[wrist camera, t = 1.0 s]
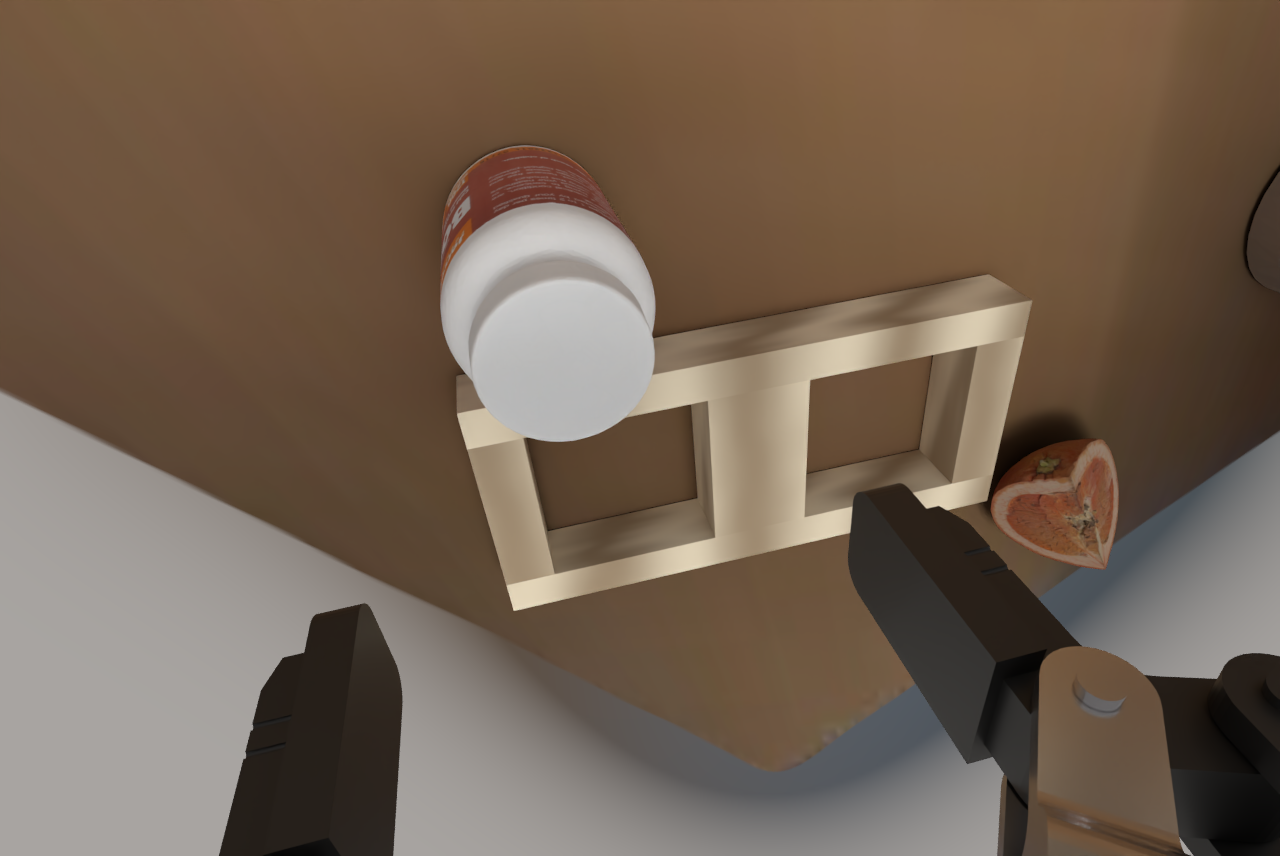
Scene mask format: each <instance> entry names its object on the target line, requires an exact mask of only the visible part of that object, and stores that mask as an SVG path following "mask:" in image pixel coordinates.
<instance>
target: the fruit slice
mask: <svg viewBox="0 0 1280 856" xmlns="http://www.w3.org/2000/svg"><path fill="white" fill-rule="evenodd" d="M1118 506H1119V489H1118V478H1117V471H1116V467H1115V463H1114V460H1113V457H1112V454H1111V451H1110V449H1109V447H1108V446H1107V444H1106V443H1105V441H1103V440H1101V439H1079V440H1069V441H1064V442H1059V443H1055V444H1052V445H1049V446H1046V447H1044V448H1041V449H1039V450H1036V451H1034V452H1032V453H1031V454H1029V455H1028V456H1026V457H1024V458H1023V459H1021V460H1020V461H1019V462H1018V463H1016V464H1015V465H1014V466H1012V467H1011V468H1010V469H1009V470H1008V471H1007V472H1006V473H1005V475H1004V476H1003V477H1002V478H1001V479H1000V481H999V483H998V485H997V486H996V488H995V491H994V493H993V497H992V502H991V513H992V517H993V520H994V522H995V523H996V525H997V526H998V528H999V529H1000V530H1001V531H1002V532H1003V533H1004V534H1006V535H1007V536H1008V537H1010V538H1011V539H1012V540H1014V541H1015V542H1017V543H1019V544H1020V545H1022V546H1024V547H1025V548H1027V549H1029V550H1030V551H1032V552H1035V553H1037V554H1039V555H1042V556H1044V557H1047V558H1050V559H1053V560H1056V561H1061V562H1064V563H1068V564H1072V565H1076V566H1080V567H1086V568H1095V569H1106V566H1107V563H1108V559H1109V555H1110V551H1111V548H1112V545H1113V539H1114V536H1115V531H1116V525H1117V518H1118Z"/></svg>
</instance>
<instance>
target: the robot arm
mask: <svg viewBox="0 0 1280 856" xmlns="http://www.w3.org/2000/svg"><path fill="white" fill-rule="evenodd" d="M1247 258H1248V265H1249V269H1250V271H1251V272H1252V274H1253V276H1254V278H1255V279H1256V280H1257V281H1258V282H1259V283H1260V284H1262V285H1263V286H1264V287H1266V288H1269V289H1271V290H1274V291H1276V292H1278V293H1280V172H1279V173H1278V174H1277V176H1276V177H1275V179H1274V180H1273V182H1272V184H1271V185H1270V187H1269V188H1268V190H1267V191H1266V193H1265V195H1264V197H1263V199H1262V201H1261V203H1260V205H1259V207H1258V209H1257V211H1256V213H1255V216H1254V219H1253V222H1252V225H1251V229H1250V232H1249V235H1248V245H1247ZM848 565H849V570H850V575H851V578H852V581H853V584H854V586H855V588H856V590H857V592H858V594H859V596H860V597H861V599H862V600H863V602H864V603H865V605H866V607H867V608H868V610H869V611H870V613H871V614H872V616H873V618H874V619H875V621H876V622H877V624H878V625H879V627H880V628H881V630H882V632H883V633H884V635H885V636H886V638H887V639H888V641H889V643H890V644H891V646H892V647H893V649H894V650H895V652H896V653H897V655H898V657H899V658H900V660H901V661H902V663H903V664H904V666H905V668H906V669H907V671H908V672H909V674H910V675H911V677H912V678H913V680H914V682H915V683H916V685H917V686H918V688H919V689H920V691H921V693H922V694H923V696H924V697H925V699H926V700H927V702H928V703H929V705H930V707H931V708H932V710H933V711H934V713H935V714H936V716H937V717H938V719H939V720H940V722H941V724H942V725H943V727H944V728H945V730H946V732H947V733H948V735H949V736H950V738H951V739H952V741H953V742H954V744H955V746H956V747H957V749H958V750H959V752H960V753H961V755H962V756H963V758H964V759H965V761H966V763H967V764H969V763H973V762H976V761H979V760H983V759H987V758H990V757H993V758H994V759H995V761H996V762H997V764H998V765H999V766H1000V768H1001V770H1002V771H1003V772H1004V775H1003V778H1002V784H1001V798H1000V815H999V833H998V851H997V856H1190V855H1187V854H1185V853H1184V851H1183V849H1182V847H1181V843H1180V839H1179V837H1180V838H1181V840H1182V841H1183V842H1184V843H1185V845H1186V846H1187V847H1188V849H1189V850H1190V851H1191V853H1192V854H1193V855H1194V856H1280V657H1279V656H1275V655H1270V654H1261V653H1251V654H1243V655H1240V656H1237V657H1234V658H1233V659H1231V660H1229V661H1228V662H1227V664H1226V665H1225V666H1224V668H1223V670H1222V671H1221V673H1220V675H1219V677H1218V678H1217V679H1205V678H1180V677H1160V676H1148V675H1143V674H1142V673H1141V672H1140V671H1139V670H1138V669H1137V668H1135V667H1134V666H1133V665H1131V664H1129V663H1128V662H1127V661H1125V660H1123V659H1121V658H1119V657H1118V656H1115V655H1113V654H1111V653H1108V652H1106V651H1102V650H1099V649H1095V648H1090V647H1082V646H1081V645H1080V644H1079V643H1078V642H1077V641H1076V640H1075V639H1074V638H1073V637H1072V636H1071V635H1070V634H1069V632H1068V631H1067V630H1066V629H1065V628H1064V627H1063V626H1062V625H1061V624H1060V622H1059V621H1058V620H1057V619H1056V618H1055V617H1054V616H1053V615H1052V614H1051V613H1050V612H1049V611H1048V609H1047V608H1046V607H1045V606H1044V605H1043V604H1042V603H1041V602H1040V601H1039V599H1038V598H1037V597H1036V596H1035V595H1034V594H1033V593H1032V592H1031V591H1030V590H1029V589H1028V587H1027V586H1026V585H1025V584H1024V583H1023V582H1022V581H1021V580H1020V579H1019V578H1018V576H1017V575H1016V574H1015V573H1014V572H1013V571H1012V570H1008V568H1007V564H1006V563H1005V562H1004V561H1003V560H1002V559H1001V558H1000V557H999V556H998V555H997V554H996V552H995V551H991V550H990V546H989V545H988V544H987V543H986V541H985V540H984V539H983V538H982V537H981V536H980V535H979V534H978V533H977V532H976V531H975V529H974V528H973V527H972V526H971V525H970V524H969V523H968V522H966V521H964V520H963V519H961V518H959V517H957V516H956V515H954V514H952V513H951V512H949V511H947V510H945V509H944V508H942V507H940V506H936V507H932V508H927V509H926V508H925V506H924V505H923V504H922V503H921V502H920V501H919V500H918V498H917V497H916V496H915V495H914V494H913V493H912V491H911V490H910V489H909V488H908V487H907V486H906V485H904V484H902V483H896V484H892V485H888V486H883V487H879V488H875V489H870V490H866V491H861V492H858V493H856V495H855V496H854V499H853V507H852V518H851V529H850V540H849V551H848ZM401 719H402V688H401V681H400V676H399V672H398V668H397V665H396V663H395V661H394V658H393V656H392V654H391V652H390V650H389V647H388V645H387V643H386V641H385V639H384V636H383V634H382V632H381V630H380V628H379V626H378V623H377V621H376V619H375V617H374V615H373V612H372V610H371V609H370V607H369V606H368V605H367V604H360V605H355V606H351V607H347V608H342V609H338V610H333V611H329V612H325V613H320V614H316V615H315V616H314V617H313V618H312V620H311V624H310V628H309V633H308V638H307V642H306V647H305V652H304V653H301V654H297V655H293V656H289V657H284V658H282V660H281V661H280V663H279V665H278V666H277V667H276V669H275V670H274V672H273V673H272V675H271V676H270V678H269V679H268V681H267V682H266V684H265V685H264V687H263V688H262V690H261V693H260V697H259V701H258V704H257V708H256V712H255V716H254V720H253V730H252V731H251V732H250V736H249V740H248V744H247V748H246V751H245V752H246V759H244V760H243V763H242V767H241V771H240V775H239V779H238V783H237V787H236V791H235V795H234V799H233V803H232V806H231V810H230V815H229V819H228V823H227V826H226V830H225V835H224V838H223V842H222V846H221V850H220V854H219V856H393V850H394V833H395V817H396V800H397V784H398V768H399V751H400V736H401Z"/></svg>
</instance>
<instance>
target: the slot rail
mask: <svg viewBox="0 0 1280 856" xmlns="http://www.w3.org/2000/svg"><path fill="white" fill-rule="evenodd" d="M1031 304H1032V300H1031V299H1030V298H1028V297H1026V296H1025V295H1023V294H1021V293H1020V292H1018V291H1016V290H1015V289H1013V288H1011V287H1010V286H1008V285H1006V284H1004V283H1003V282H1001V281H999V280H998V279H996V278H994V277H993V276H991V275H989V274H987V275H982V276H977V277H972V278H966V279H961V280H956V281H951V282H945V283H940V284H935V285H930V286H924V287H919V288H914V289H909V290H903V291H898V292H893V293H888V294H882V295H877V296H872V297H867V298H861V299H856V300H851V301H846V302H840V303H835V304H830V305H825V306H819V307H814V308H809V309H804V310H798V311H793V312H788V313H783V314H777V315H772V316H767V317H762V318H756V319H751V320H746V321H741V322H736V323H730V324H725V325H720V326H715V327H709V328H704V329H699V330H694V331H688V332H683V333H678V334H673V335H667V336H662V337H657V338H653V341H654V349H655V361H654V369H653V373H652V377H651V380H650V383H649V385H648V388H647V390H646V392H645V394H644V395H643V397H642V398H641V400H640V401H639V403H638V404H637V405H636V407H635V408H634V409H633V410H632V411H631V412H630V413H629V414H628V415H627V416H626V417H631V416H636V415H640V414H645V413H650V412H655V411H660V410H665V409H670V408H675V407H680V406H685V405H690V404H691V411H692V426H693V440H694V454H695V469H696V483H697V498H696V499H692V500H687V501H683V502H678V503H673V504H669V505H664V506H660V507H655V508H651V509H646V510H642V511H637V512H633V513H628V514H624V515H619V516H614V517H610V518H605V519H601V520H596V521H592V522H587V523H583V524H578V525H574V526H569V527H565V528H560V529H555V530H551V531H547V526H546V522H545V518H544V513H543V509H542V505H541V500H540V496H539V491H538V487H537V483H536V478H535V474H534V470H533V465H532V461H531V457H530V452H529V448H528V444H527V439H526V438H527V437H526V436H524V435H521V434H519V433H516V432H514V431H513V430H511V429H509V428H507V427H506V426H504V425H503V424H502V423H501V422H499V421H498V420H497V419H496V418H494V417H493V416H492V415H491V414H490V413H489V411H488V410H487V409H486V407H485V406H484V405H483V403H482V402H481V400H480V398H479V397H478V394H477V392H476V389H475V387H474V384H473V381H472V380H471V379H470V378H469V377H468V376H467V374H463V375H458V376H456V388H457V416H458V420H459V423H460V426H461V430H462V433H463V437H464V440H465V444H466V447H467V451H468V454H469V458H470V461H471V464H472V468H473V471H474V475H475V478H476V482H477V485H478V489H479V492H480V495H481V499H482V502H483V506H484V509H485V513H486V516H487V520H488V523H489V526H490V530H491V533H492V537H493V540H494V544H495V547H496V551H497V554H498V557H499V561H500V564H501V568H502V571H503V575H504V578H505V582H506V585H507V588H508V592H509V595H510V599H511V602H512V606H513V609H514V611H516V610H520V609H524V608H529V607H533V606H537V605H542V604H546V603H550V602H555V601H559V600H563V599H567V598H572V597H576V596H580V595H585V594H589V593H593V592H598V591H602V590H606V589H610V588H615V587H619V586H623V585H628V584H632V583H636V582H641V581H645V580H649V579H653V578H658V577H662V576H666V575H671V574H675V573H679V572H684V571H688V570H692V569H696V568H701V567H705V566H709V565H714V564H718V563H722V562H726V561H731V560H735V559H739V558H744V557H748V556H752V555H757V554H761V553H765V552H769V551H774V550H778V549H782V548H787V547H791V546H795V545H800V544H804V543H808V542H812V541H817V540H821V539H825V538H830V537H834V536H838V535H843V534H847V533H850V529H851V518H852V507H853V499H854V496H855V495H856V493H858V492H861V491H866V490H870V489H875V488H879V487H883V486H888V485H892V484H896V483H902V484H904V485H906V486H907V487H908V488H909V489H910V490H911V491H912V493H913V494H914V495H915V496H916V497H917V498H918V500H919V501H920V502H921V503H922V504H923V505H924V506H925V508H926V509H927V508H932V507H936V506H940V507H942V508H944V509H945V510H950V509H954V508H959V507H963V506H967V505H972V504H976V503H980V502H984V501H987V499H988V494H989V490H990V485H991V481H992V476H993V472H994V468H995V463H996V459H997V454H998V450H999V446H1000V441H1001V437H1002V432H1003V428H1004V423H1005V419H1006V415H1007V410H1008V406H1009V401H1010V397H1011V393H1012V388H1013V384H1014V379H1015V375H1016V371H1017V366H1018V362H1019V357H1020V353H1021V348H1022V344H1023V340H1024V335H1025V331H1026V326H1027V322H1028V318H1029V313H1030V309H1031ZM930 355H933V360H932V367H931V373H930V380H929V387H928V393H927V400H926V407H925V414H924V420H923V427H922V434H921V440H920V447H919V450H914V451H910V452H905V453H900V454H896V455H891V456H887V457H882V458H878V459H873V460H869V461H864V462H860V463H855V464H851V465H846V466H841V467H837V468H832V469H828V470H823V471H819V472H814V473H810V474H806V466H807V441H808V416H809V392H810V380H812V379H817V378H822V377H827V376H832V375H837V374H842V373H847V372H852V371H857V370H862V369H866V368H871V367H876V366H881V365H886V364H891V363H896V362H901V361H906V360H911V359H916V358H921V357H925V356H930ZM626 417H625V418H626Z"/></svg>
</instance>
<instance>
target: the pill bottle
mask: <svg viewBox="0 0 1280 856" xmlns="http://www.w3.org/2000/svg"><path fill="white" fill-rule="evenodd" d="M440 309H441V319H442V325H443V331H444V335H445V338H446V341H447V344H448V346H449V348H450V351H451V352H452V354H453V356H454V358H455V360H456V361H457V363H458V364H459V365H460V367H461V368H462V369H463V371H464V372H465V373H466V374H467V376H468V377H469V378H470V379H471V380H472V381H473V384H474V387H475V389H476V392H477V394H478V397H479V398H480V400H481V402H482V403H483V405H484V406H485V407H486V409H487V410H488V411H489V413H490V414H491V415H492V416H493V417H494V418H496V419H497V420H498V421H499V422H501V423H502V424H503V425H504V426H506V427H507V428H509V429H511V430H513V431H514V432H516V433H519V434H521V435H524V436H526V437H529V438H533V439H536V440H543V441H553V442H563V441H575V440H579V439H583V438H587V437H590V436H593V435H596V434H598V433H601V432H603V431H605V430H607V429H609V428H610V427H612V426H614V425H615V424H617V423H618V422H619V421H621V420H622V419H623V418H625V417H626V416H627V415H628V414H629V413H630V412H631V411H632V410H633V409H634V408H635V407H636V405H637V404H638V403H639V401H640V400H641V398H642V397H643V395H644V394H645V392H646V390H647V388H648V385H649V383H650V380H651V377H652V373H653V369H654V361H655V349H654V341H653V337H652V331H653V327H654V321H655V295H654V289H653V285H652V281H651V278H650V275H649V273H648V270H647V268H646V265H645V263H644V261H643V260H642V257H641V255H640V253H639V252H638V250H637V248H636V246H635V245H634V243H633V242H632V240H631V239H630V237H629V235H628V234H627V232H626V231H625V229H624V227H623V226H622V224H621V223H620V221H619V219H618V218H617V216H616V214H615V213H614V211H613V210H612V208H611V206H610V205H609V203H608V201H607V200H606V198H605V196H604V195H603V193H602V191H601V190H600V188H599V186H598V185H597V184H596V182H595V181H594V180H593V178H592V177H591V176H590V175H589V174H588V173H587V172H586V171H585V170H584V169H583V168H582V167H581V166H580V165H579V164H577V163H576V162H575V161H573V160H572V159H570V158H569V157H567V156H565V155H563V154H561V153H559V152H556V151H554V150H551V149H548V148H544V147H538V146H527V145H522V146H512V147H508V148H504V149H500V150H497V151H495V152H492V153H490V154H488V155H486V156H484V157H483V158H481V159H479V160H478V161H477V162H475V163H474V164H473V165H471V166H470V167H469V168H468V169H467V170H466V171H465V172H464V173H463V174H462V175H461V177H460V178H459V179H458V181H457V182H456V184H455V185H454V187H453V189H452V191H451V193H450V195H449V197H448V200H447V203H446V206H445V211H444V215H443V225H442V253H441V294H440Z"/></svg>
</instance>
